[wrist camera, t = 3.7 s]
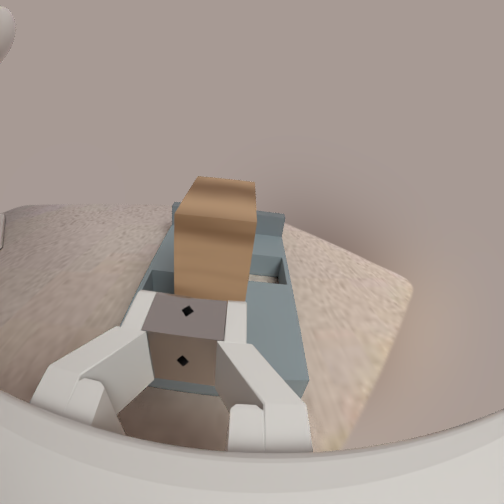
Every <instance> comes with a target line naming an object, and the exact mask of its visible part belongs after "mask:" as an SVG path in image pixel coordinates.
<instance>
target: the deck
mask: <svg viewBox="0 0 504 504" xmlns="http://www.w3.org/2000/svg"><path fill="white" fill-rule="evenodd" d="M180 204H181V203H180V202H174V204H173V205H172V226H171V227H170V229H169V231H168V233H167V234H166V236H165V238H164V240H163V242H162V244H161V245H160V247H159V249H158V251H157V253H156V255H155V256H154V258H153V260H152V262H151V264H150V266H149V268H148V270H147V272H146V274H145V276H144V277H143V279H142V281H141V283H140V285H139V287H138V289H137V291H136V293H135V295H134V297H133V299H132V301H131V303H130V306H129V308H128V310H127V312H126V314H125V316H124V318H123V320H122V322H121V324H120V327H121V325H122V323H123V321H124V319H125V317H126V315H127V313H128V311H129V309H130V307H131V305H132V303H133V301H134V299H135V297H136V295H137V293H138V292H139V291H140V290H147V291H155V292H162V293H169V294H174V214H175V212H176V210H177V209H178V207H179V205H180ZM256 214H257V225H256V232H255V239H254V246H253V252H252V259H251V266H250V272H249V274H254V275H263V276H273V277H278V280H279V284H274V283H264V282H254V281H248V285H247V292H246V299H245V302H246V303H247V339H246V343H247V344H253V346H254V347H255V348H256V349H257V350H258V351H259V353H260V354H261V355H262V356H263V357H264V358H265V360H266V361H267V362H268V363H269V364H270V365H271V366H272V368H273V369H274V370H275V371H276V372H277V373H278V374H279V376H280V377H281V378H282V379H283V380H284V381H285V382H286V383H287V384H288V386H289V387H290V388H291V389H292V390H293V391H294V392H295V393H296V394H297V395H298V397H299V398H300V399H301V397H302V395H303V393H304V391H305V388H306V386H307V384H308V382H309V376H308V370H307V365H306V359H305V353H304V348H303V342H302V337H301V332H300V326H299V321H298V316H297V310H296V305H295V300H294V295H293V290H292V285H291V280H290V275H289V270H288V265H287V260H286V256H285V251H284V246H283V241H282V232H283V227H284V222H285V216H284V214H279V213H271V212H263V211H256ZM148 386H151V387H156V388H162V389H168V390H174V391H181V392H188V393H196V394H204V395H213V396H219V394H218V393H217V391H216V389H215V386H210V385H202V384H195V383H189V382H182V381H174V380H166V379H159V378H154V380H153V381H152V382H151V383H150V384H149V385H148Z"/></svg>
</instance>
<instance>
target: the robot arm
mask: <svg viewBox="0 0 504 504" xmlns="http://www.w3.org/2000/svg"><path fill="white" fill-rule="evenodd" d="M15 31H16V27H15V19H14V17H13V15H12V13H11V12H10V11H9V10H8V9H7V8H5V7H2V6H0V63H1V62H2V61H3V60H4V58H5V57H6V55H7V54H8V52H9V50H10V49H11V46H12V44H13V41H14V37H15ZM4 226H5V215H4V214H2V213H0V249H1V248H2V246H3V235H4ZM226 312H227V313H226ZM225 323H226V324H225ZM246 339H247V303H246V302H245V301H230V300H228V303H227V301H224V300H214V299H204V298H195V297H189V296H182V295H175V294H168V293H161V292H154V291H147V290H140V291H139V292H138V293H137V295H136V297H135V299H134V301H133V303H132V305H131V307H130V309H129V311H128V313H127V315H126V317H125V319H124V321H123V323H122V325H121V327H118V326H115V327H114V328H112V329H110V330H108V331H107V332H105V333H103V334H102V335H100V336H98V337H96V338H95V339H93V340H91V341H90V342H88V343H86V344H84V345H83V346H81V347H79V348H78V349H76V350H74V351H73V352H71V353H69V354H67V355H66V356H64V357H62V358H61V359H59V360H57V361H56V362H54V363H52V364H50V365H49V366H48V368H47V370H46V372H45V374H44V375H43V377H42V379H41V381H40V383H39V385H38V387H37V389H36V391H35V393H34V395H33V397H32V398H31V401H30V403H28V402H25V401H23V400H21V399H19V398H17V397H14V396H12V395H10V394H8V393H6V392H4V391H2V390H0V504H504V409H502V410H500V411H497V412H495V413H492V414H490V415H487V416H485V417H482V418H479V419H476V420H474V421H471V422H468V423H465V424H462V425H459V426H456V427H453V428H449V429H446V430H442V431H439V432H435V433H431V434H428V435H424V436H420V437H416V438H411V439H407V440H402V441H397V442H392V443H386V444H381V445H375V446H369V447H362V448H354V449H345V450H336V451H324V452H313V448H312V441H311V434H310V427H309V420H308V413H307V406H306V404H305V403H304V402H303V401H302V400H301V399H300V398H299V397H298V395H297V394H296V393H295V392H294V391H293V390H292V389H291V388H290V387H289V386H288V384H287V383H286V382H285V381H284V380H283V379H282V378H281V377H280V376H279V374H278V373H277V372H276V371H275V370H274V369H273V368H272V366H271V365H270V364H269V363H268V362H267V361H266V360H265V358H264V357H263V356H262V355H261V354H260V353H259V351H258V350H257V349H256V348H255V347H254V346H253V344H247V343H246ZM154 378H159V379H166V380H174V381H182V382H189V383H195V384H202V385H210V386H215V389H216V391H217V393H218V394H219V396H220V398H221V400H222V401H223V403H224V405H225V406H226V408H227V410H228V412H229V413H230V416H229V423H228V430H227V437H226V445H225V451H215V450H206V449H197V448H189V447H182V446H176V445H169V444H164V443H158V442H153V441H148V440H143V439H138V438H134V437H130V436H126V434H125V432H124V430H123V428H122V426H121V424H120V422H119V419H118V417H117V414H118V413H119V412H120V411H121V410H122V409H123V408H124V407H125V406H126V405H128V404H129V403H130V402H131V401H132V400H133V399H134V398H135V397H136V396H137V395H138V394H139V393H140V392H142V391H143V390H144V389H145V388H146V387H147V386H148V385H149V384H150V383H151V382H152V381H153V380H154Z"/></svg>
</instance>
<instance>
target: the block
mask: <svg viewBox="0 0 504 504" xmlns="http://www.w3.org/2000/svg"><path fill="white" fill-rule="evenodd" d="M256 225H257V214H256V196H255V183H254V182H248V181H240V180H230V179H221V178H212V177H201V176H198V177H197V179H196V180H195V182H194V183H193V185H192V186H191V188H190V189H189V191H188V193H187V194H186V196H185V197H184V199H183V201H182V202H181V204H180V205H179V207H178V209H177V210H176V212H175V214H174V294H175V295H182V296H189V297H195V298H204V299H214V300H224V301H227V303H228V300H230V301H245V299H246V292H247V285H248V279H249V272H250V266H251V259H252V252H253V246H254V239H255V232H256ZM226 313H227V312H226ZM225 324H226V323H225Z"/></svg>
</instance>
